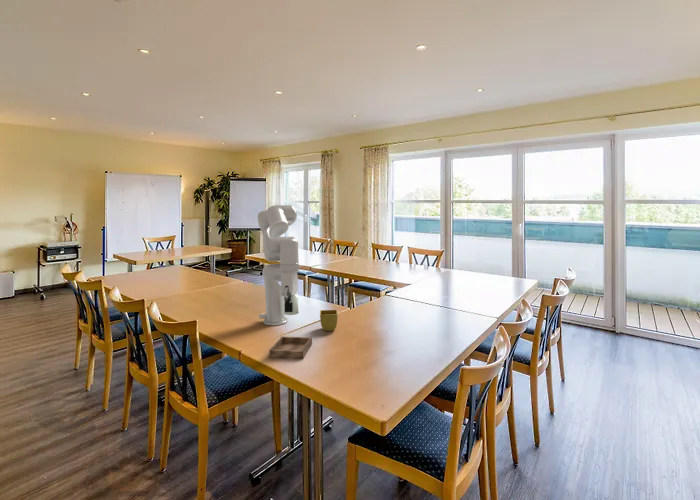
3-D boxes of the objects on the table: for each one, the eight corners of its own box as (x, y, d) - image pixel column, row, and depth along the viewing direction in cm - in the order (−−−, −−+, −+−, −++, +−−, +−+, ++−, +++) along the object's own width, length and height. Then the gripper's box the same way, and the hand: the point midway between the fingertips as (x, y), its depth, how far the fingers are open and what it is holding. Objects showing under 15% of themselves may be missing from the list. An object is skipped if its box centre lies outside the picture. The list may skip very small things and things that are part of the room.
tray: (269, 357, 144) (269, 350, 143) (281, 343, 160) (281, 336, 159) (303, 359, 142) (302, 351, 142) (312, 344, 158) (311, 337, 158)
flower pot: (320, 327, 181) (319, 310, 180) (337, 326, 182) (336, 309, 181) (320, 332, 172) (319, 315, 171) (338, 332, 173) (337, 314, 172)
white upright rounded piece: (282, 314, 147) (281, 296, 146) (286, 310, 153) (285, 292, 152) (296, 315, 146) (295, 296, 145) (300, 311, 152) (299, 293, 151)
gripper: (287, 264, 156) (288, 304, 158) (274, 271, 139) (275, 315, 141) (303, 264, 155) (304, 304, 157) (292, 271, 138) (294, 315, 140)
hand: (291, 309), depth 149 cm, fingers closed on white upright rounded piece, 6 cm apart
